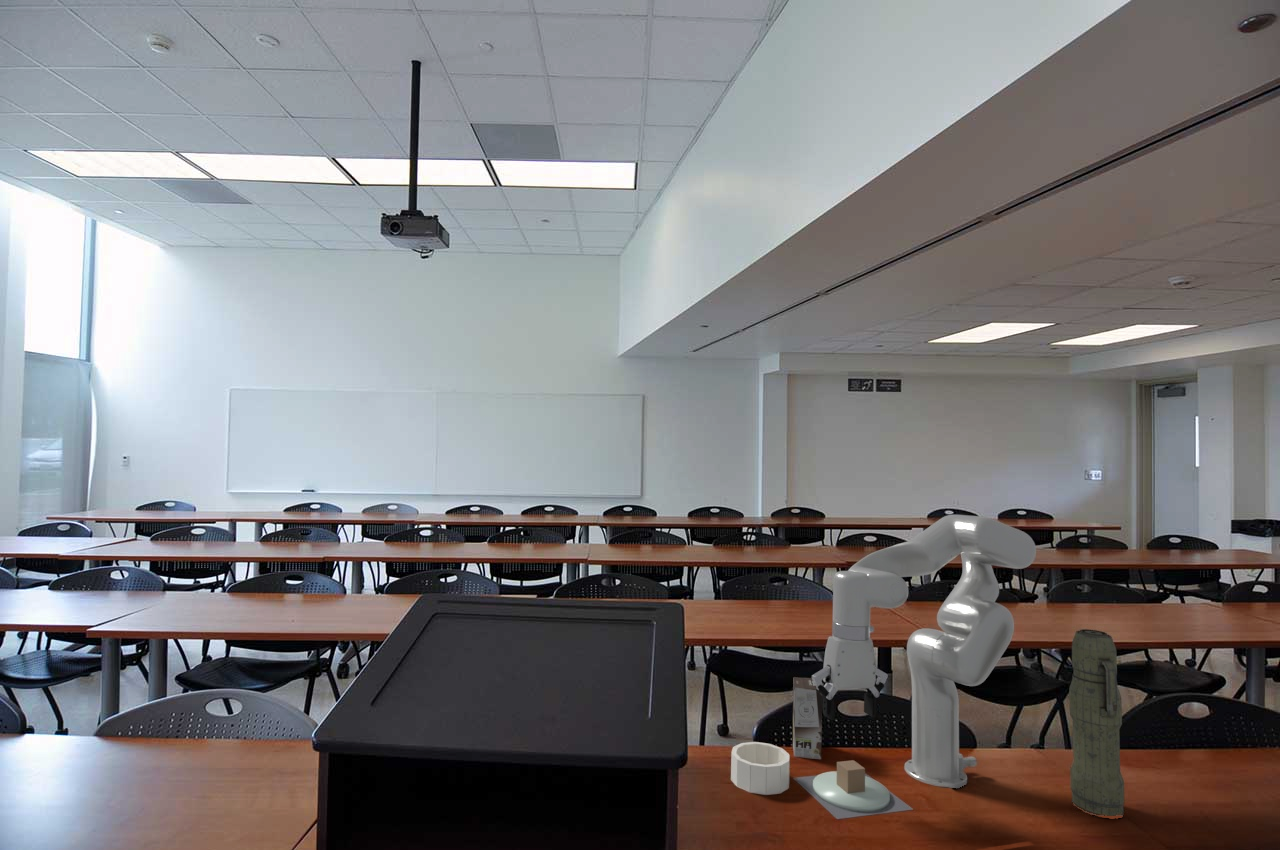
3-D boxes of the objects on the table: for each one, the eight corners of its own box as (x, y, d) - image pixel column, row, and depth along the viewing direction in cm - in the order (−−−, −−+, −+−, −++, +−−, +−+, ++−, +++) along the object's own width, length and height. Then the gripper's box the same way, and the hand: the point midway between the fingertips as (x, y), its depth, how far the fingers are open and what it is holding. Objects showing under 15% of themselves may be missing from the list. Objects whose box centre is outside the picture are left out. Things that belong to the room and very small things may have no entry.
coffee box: (822, 762, 149) (822, 689, 150) (793, 758, 150) (794, 687, 151) (819, 746, 158) (820, 678, 159) (792, 743, 159) (793, 675, 160)
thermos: (1097, 794, 137) (1093, 625, 140) (1141, 824, 125) (1136, 639, 128) (1056, 793, 137) (1053, 624, 140) (1096, 823, 125) (1092, 638, 128)
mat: (862, 773, 144) (862, 770, 144) (913, 812, 127) (913, 809, 127) (792, 780, 139) (793, 777, 139) (837, 822, 123) (837, 818, 123)
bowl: (772, 768, 145) (772, 740, 145) (799, 793, 133) (799, 763, 134) (722, 772, 142) (723, 744, 142) (746, 799, 130) (746, 768, 131)
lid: (860, 773, 142) (860, 747, 143) (905, 807, 128) (905, 778, 128) (799, 779, 138) (799, 753, 139) (839, 815, 124) (839, 786, 124)
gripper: (875, 627, 142) (874, 707, 140) (804, 628, 137) (802, 711, 136) (898, 635, 134) (897, 720, 133) (824, 637, 130) (822, 725, 128)
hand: (849, 716), depth 134 cm, fingers open, 9 cm apart
